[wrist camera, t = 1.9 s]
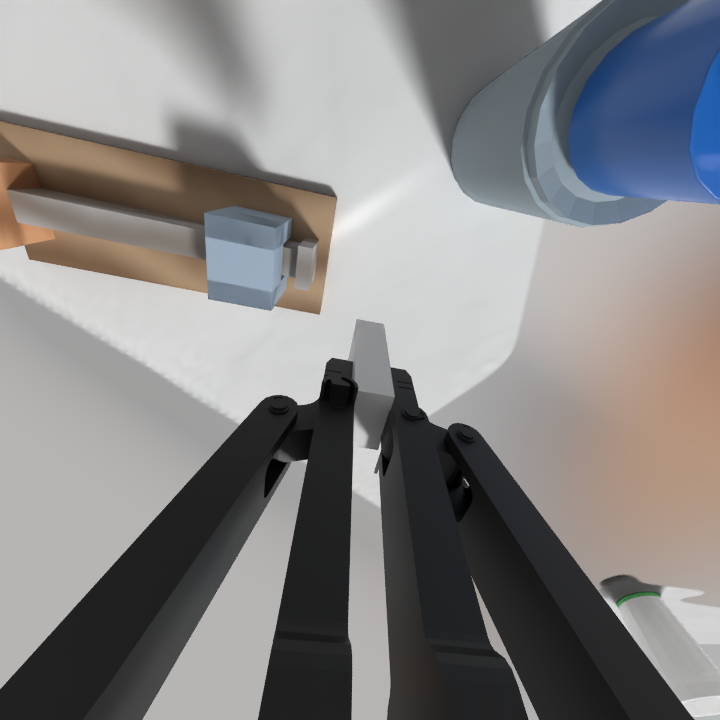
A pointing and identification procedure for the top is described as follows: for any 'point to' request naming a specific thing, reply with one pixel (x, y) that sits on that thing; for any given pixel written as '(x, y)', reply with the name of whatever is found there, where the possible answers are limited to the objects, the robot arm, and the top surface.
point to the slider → (245, 256)
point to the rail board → (161, 197)
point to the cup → (673, 652)
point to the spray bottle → (601, 117)
